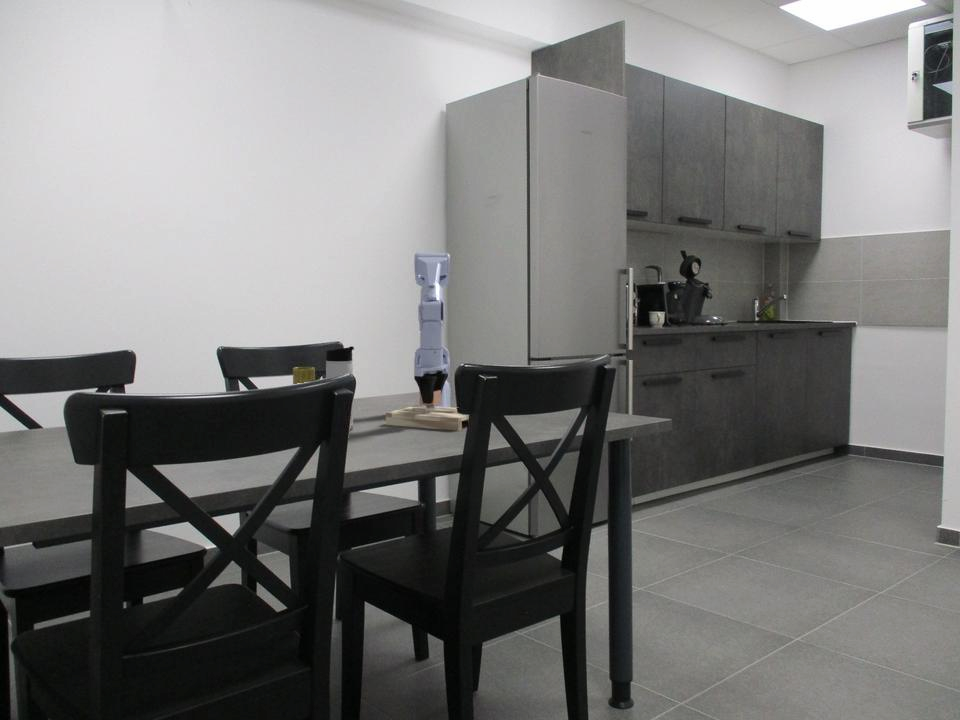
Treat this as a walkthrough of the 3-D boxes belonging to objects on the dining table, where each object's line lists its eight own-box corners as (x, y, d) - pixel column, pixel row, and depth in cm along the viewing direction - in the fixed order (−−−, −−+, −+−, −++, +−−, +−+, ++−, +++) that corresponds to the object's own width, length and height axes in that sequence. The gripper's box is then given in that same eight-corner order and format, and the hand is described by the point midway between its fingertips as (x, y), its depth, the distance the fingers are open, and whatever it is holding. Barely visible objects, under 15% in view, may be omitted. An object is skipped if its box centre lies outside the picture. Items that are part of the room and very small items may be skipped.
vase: (322, 424, 200) (321, 367, 199) (304, 427, 195) (303, 369, 194) (304, 422, 203) (303, 366, 202) (286, 425, 198) (285, 368, 197)
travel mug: (351, 432, 189) (351, 347, 188) (324, 431, 189) (323, 347, 188) (356, 427, 195) (356, 345, 194) (329, 427, 195) (328, 345, 194)
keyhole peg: (426, 419, 207) (426, 388, 206) (442, 420, 205) (443, 389, 204) (417, 422, 203) (417, 390, 202) (434, 423, 201) (434, 391, 200)
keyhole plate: (416, 416, 214) (416, 405, 214) (485, 421, 206) (485, 409, 206) (385, 424, 200) (385, 412, 200) (458, 430, 192) (458, 418, 192)
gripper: (430, 346, 210) (430, 398, 211) (403, 350, 197) (403, 404, 198) (454, 347, 207) (454, 399, 209) (428, 350, 194) (428, 406, 195)
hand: (431, 402), depth 203 cm, fingers closed on keyhole peg, 4 cm apart
